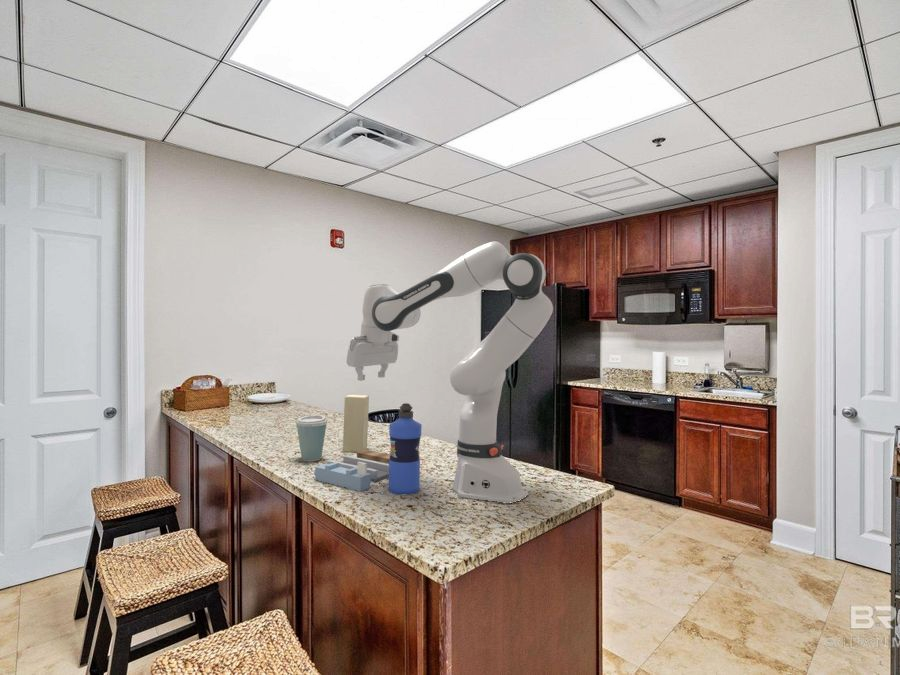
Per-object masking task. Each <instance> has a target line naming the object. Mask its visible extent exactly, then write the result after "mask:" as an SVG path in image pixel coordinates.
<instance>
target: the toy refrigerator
mask: <svg viewBox="0 0 900 675" xmlns="http://www.w3.org/2000/svg"><path fill="white" fill-rule="evenodd" d="M369 405H370V396H369V395H362V394H361V395H360V394H348V395H346V396H345V397H344V406H343V407H344V408H343V410H344V411H343V433H342V434H343V436H342V452H346V453H347V452H349V453H351V452H352V453H357V452H360V451H364V450H368V436H369V435H368V431H369V430H368V429H369Z"/></svg>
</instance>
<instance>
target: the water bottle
mask: <svg viewBox="0 0 900 675" xmlns="http://www.w3.org/2000/svg"><path fill="white" fill-rule="evenodd" d="M399 409H400V410H399V411H398V417H399V418H398V419H396V420H395V421H393V422H391V423H389V429H388V430H389V431H388V432H389V433H388V434H389V441H390V453H389V454H390V458H389V477H388V484H387V486H388V487H387V490H388V492H389V491H390V492H389V493H391V492H392V494H394V493H395V495H400V494H407V495H412V493H413V494H416V493H418V492H419V491H420V484H421V482H420V480H421V478H420V477H421V476H420V475H421V457H420V445H421V437H422V428H423V427H422V423H420V422H418V421H417V420H414V418H413V417H414V411H413V406H412V405H411V404H410V403H407V402H406V403H402V404H401V405H400V406H399Z"/></svg>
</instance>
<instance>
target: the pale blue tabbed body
mask: <svg viewBox="0 0 900 675" xmlns="http://www.w3.org/2000/svg"><path fill="white" fill-rule="evenodd" d="M338 462H339V461H338ZM338 462H335V463H331V464H327V463H324V464H321V465H320V464H319V465H318V466H315V468H314V474H313V475H314V477H315V479H314V480H315V481H317V480H318V482H321V481H322V482H321V483H324V482H327V483H326V484H328V483H330V484H329V485H332V484H335V485H334V486H336V485H338V486H337V487H340V486H342V487H341V488H344V487H346V488H345V489H348V488H349V489H348V490H352V489H353V490H352V491H356V490H357V492H363V491H365V490H367V489H370V488H371V487H372V486H371V485H372V484H371V483H372V482H371V474H369V473H367V463H363V462H357V467H354V468H351V469H347V468H343V467H339V465H340V463H338Z"/></svg>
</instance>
